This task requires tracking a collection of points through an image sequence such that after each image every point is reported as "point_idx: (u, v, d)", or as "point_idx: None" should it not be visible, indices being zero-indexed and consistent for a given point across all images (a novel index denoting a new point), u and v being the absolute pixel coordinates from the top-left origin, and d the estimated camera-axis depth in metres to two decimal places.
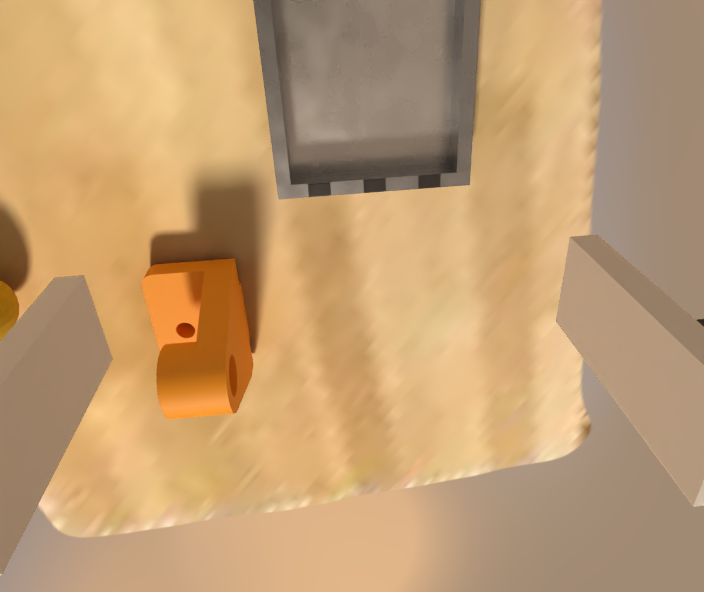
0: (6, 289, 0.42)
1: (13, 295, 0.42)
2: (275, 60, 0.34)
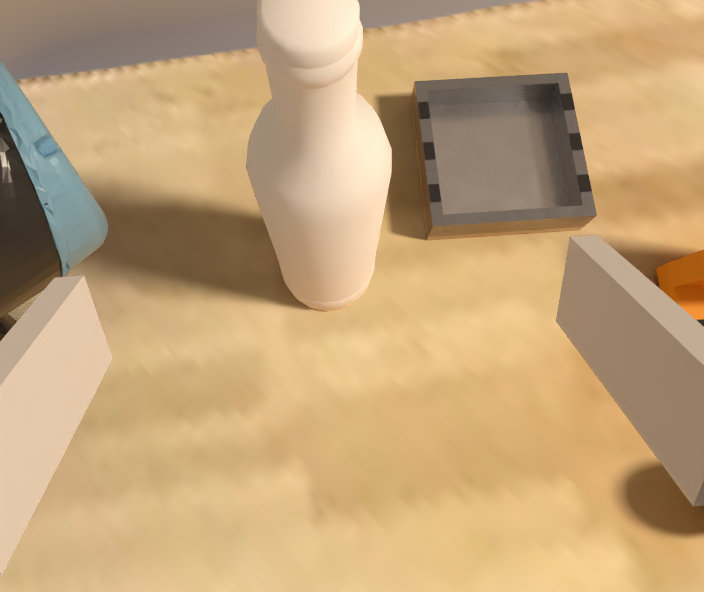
0: None
1: None
2: (487, 212, 0.46)
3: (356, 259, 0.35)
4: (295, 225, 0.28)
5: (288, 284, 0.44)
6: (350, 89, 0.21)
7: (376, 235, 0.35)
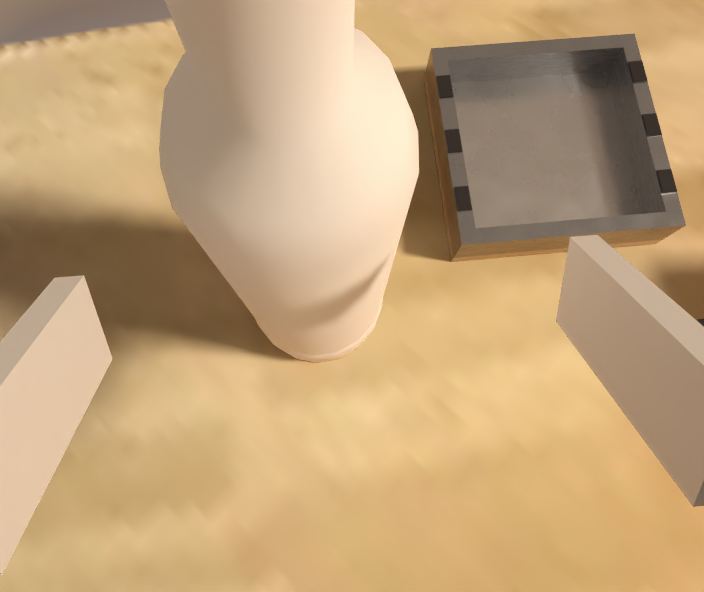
0: None
1: None
2: (536, 224, 0.33)
3: (358, 307, 0.23)
4: (249, 270, 0.16)
5: (263, 330, 0.31)
6: None
7: (388, 270, 0.23)
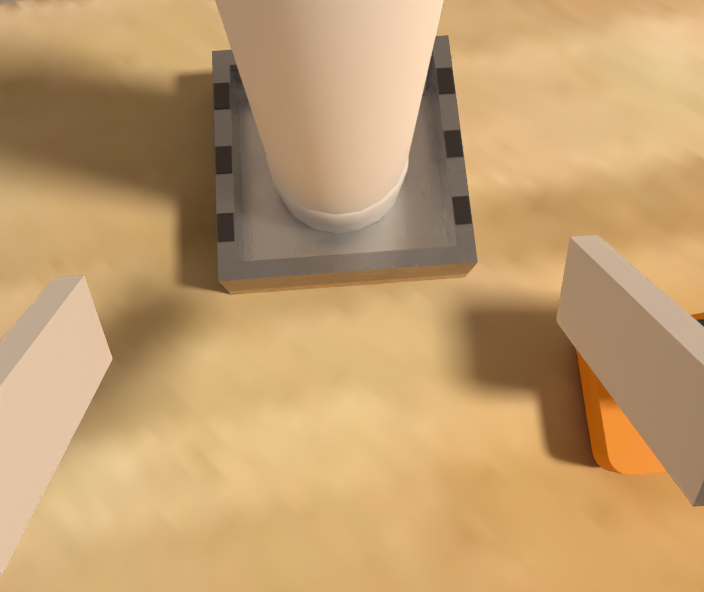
0: None
1: None
2: (305, 258, 0.29)
3: (389, 113, 0.20)
4: None
5: (280, 188, 0.29)
6: None
7: (423, 70, 0.20)
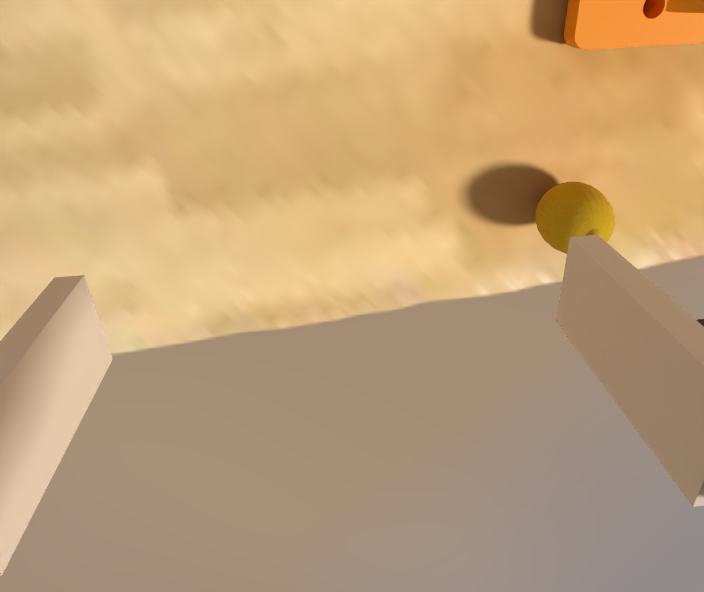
0: (556, 186, 0.44)
1: (563, 183, 0.44)
2: None
3: None
4: None
5: None
6: None
7: None
